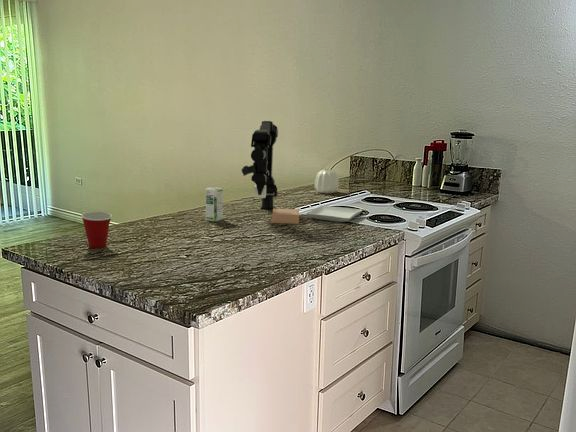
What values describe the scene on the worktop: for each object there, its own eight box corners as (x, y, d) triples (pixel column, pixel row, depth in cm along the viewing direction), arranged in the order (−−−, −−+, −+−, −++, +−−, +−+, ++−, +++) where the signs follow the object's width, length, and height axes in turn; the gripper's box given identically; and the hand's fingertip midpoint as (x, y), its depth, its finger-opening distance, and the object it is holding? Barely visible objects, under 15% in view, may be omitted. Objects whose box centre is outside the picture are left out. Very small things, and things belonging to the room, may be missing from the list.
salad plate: (304, 219, 264) (305, 212, 263) (321, 211, 283) (321, 204, 282) (348, 225, 256) (349, 217, 255) (362, 216, 275) (363, 209, 274)
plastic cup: (98, 252, 203) (97, 218, 200) (75, 247, 208) (74, 215, 205) (119, 245, 213) (118, 213, 210) (97, 241, 217) (96, 210, 215)
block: (255, 195, 262) (255, 184, 261) (266, 195, 262) (266, 185, 261) (254, 197, 257) (254, 186, 256) (265, 197, 257) (265, 186, 256)
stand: (273, 216, 266) (273, 208, 265) (299, 217, 266) (299, 209, 265) (271, 222, 255) (272, 214, 254) (298, 223, 254) (299, 214, 253)
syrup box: (205, 220, 256) (204, 188, 253) (212, 217, 261) (212, 186, 258) (215, 222, 253) (215, 189, 250) (223, 219, 258) (223, 187, 255)
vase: (339, 195, 327) (340, 171, 324) (314, 194, 327) (315, 171, 324) (337, 190, 341) (338, 168, 338) (313, 190, 341) (314, 167, 338)
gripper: (245, 156, 266) (245, 189, 269) (240, 161, 247) (239, 197, 251) (269, 157, 265) (268, 190, 268) (265, 162, 247) (265, 198, 250)
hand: (260, 193), depth 259 cm, fingers closed on block, 5 cm apart
